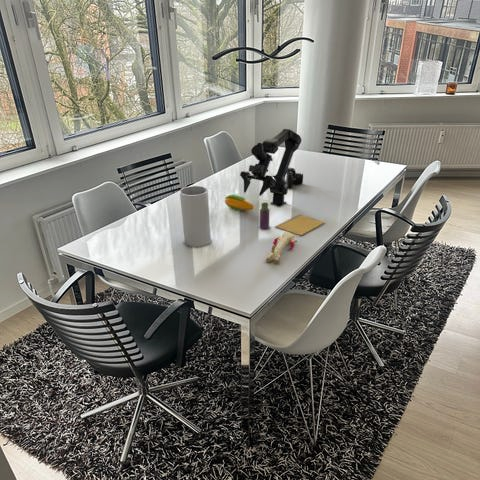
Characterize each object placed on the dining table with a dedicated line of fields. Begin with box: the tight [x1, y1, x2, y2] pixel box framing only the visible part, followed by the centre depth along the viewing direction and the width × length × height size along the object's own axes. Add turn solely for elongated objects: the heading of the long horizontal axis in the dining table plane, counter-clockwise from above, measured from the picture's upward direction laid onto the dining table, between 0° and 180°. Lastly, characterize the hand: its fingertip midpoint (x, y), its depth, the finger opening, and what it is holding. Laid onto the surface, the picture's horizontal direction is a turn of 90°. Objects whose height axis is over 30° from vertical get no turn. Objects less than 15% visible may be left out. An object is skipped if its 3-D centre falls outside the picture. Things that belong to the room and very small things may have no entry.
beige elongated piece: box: [265, 231, 298, 265], centre depth 205 cm, size 10×9×25 cm
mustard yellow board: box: [275, 214, 325, 237], centre depth 231 cm, size 20×16×1 cm
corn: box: [224, 194, 255, 212], centre depth 248 cm, size 7×8×20 cm
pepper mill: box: [259, 202, 271, 230], centre depth 226 cm, size 5×5×12 cm
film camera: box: [285, 166, 304, 190], centre depth 279 cm, size 18×12×10 cm
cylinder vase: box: [179, 185, 212, 248], centre depth 211 cm, size 12×12×25 cm
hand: (252, 194), depth 229 cm, fingers open, 9 cm apart
